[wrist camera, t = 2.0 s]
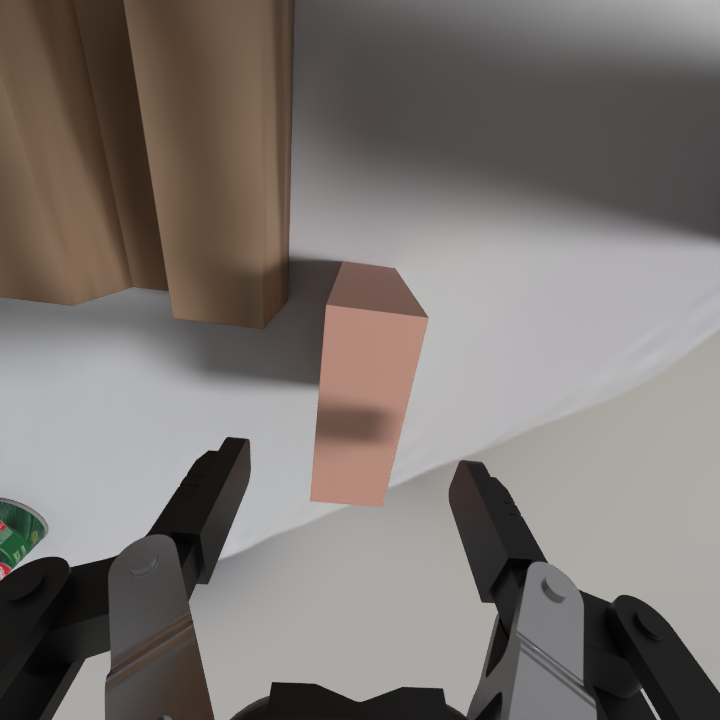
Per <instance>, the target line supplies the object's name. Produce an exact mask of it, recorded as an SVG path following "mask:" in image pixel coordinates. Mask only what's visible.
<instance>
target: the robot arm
mask: <svg viewBox="0 0 720 720" xmlns="http://www.w3.org/2000/svg"><path fill="white" fill-rule="evenodd" d="M250 472H251V462H250V441H249V439H244V438H233V437H227V438H226V439H225V440H224V442H223V444H222V446H221V447H220V449H219V451H210V450H209V451H207V452H206V453H205V454H204V455H202V456H201V457H200V458H199V459H197V460H196V461H195V463H194V464H193V466H192V467H191V469H190V470H189V472H188V473H187V476H185V478H184V479H183V481H182V482H181V484H180V487H178V489H177V490H176V492H175V493H174V495H173V496H172V498H171V499H170V501H169V502H168V504H167V505H166V507H165V508H164V510H163V511H162V513H161V515H160V516H159V518H158V519H157V521H156V522H155V524H154V525H153V527H152V528H151V530H150V531H149V532H148V534H147V535H146V536H145V537H144V538H141V539H139V540H137V541H135V542H133V543H132V544H130V545H129V546H128V547H126V548H125V549H124V550H123V551H122V552H121V553H120V554H119V555H117V556H114V557H111V558H108V559H104V560H100V561H96V562H91V563H87V564H83V565H79V566H74V567H70V566H69V564H68V563H67V561H66V560H64V559H63V558H60V557H45V558H40V559H37V560H34V561H32V562H29V563H27V564H25V565H23V566H21V567H19V568H17V569H16V570H14V571H12V572H11V573H10V574H8V575H7V576H5V577H4V578H3V579H2V580H0V720H52V718H53V716H54V714H55V712H56V711H57V709H58V707H59V705H60V704H61V702H62V700H63V698H64V696H65V695H66V693H67V691H68V689H69V688H70V686H71V684H72V682H73V680H74V679H75V677H76V675H77V673H78V672H79V670H80V668H81V666H82V664H83V662H84V661H85V659H86V658H89V657H91V656H95V655H97V654H101V653H104V652H107V651H110V650H111V669H110V673H109V674H108V675H107V677H106V683H105V720H214V715H213V710H212V706H211V701H210V697H209V692H208V688H207V683H206V679H205V674H204V670H203V666H202V661H201V657H200V652H199V647H198V643H197V638H196V634H195V630H194V625H193V620H192V616H191V612H190V607H189V599H190V597H191V595H192V592H193V590H194V588H195V585H196V584H208V583H209V580H210V578H211V576H212V573H213V570H214V568H215V566H216V563H217V561H218V558H219V556H220V553H221V551H222V548H223V546H224V543H225V541H226V538H227V536H228V533H229V531H230V528H231V526H232V523H233V521H234V518H235V516H236V513H237V511H238V508H239V506H240V503H241V501H242V498H243V496H244V493H245V491H246V488H247V486H248V483H249V478H250ZM449 502H450V506H451V509H452V512H453V515H454V518H455V522H456V525H457V528H458V531H459V534H460V537H461V540H462V543H463V546H464V549H465V552H466V555H467V558H468V562H469V565H470V567H471V571H472V574H473V576H474V580H475V583H476V586H477V589H478V592H479V595H480V598H481V601H482V602H485V603H495V605H496V607H497V610H498V614H497V616H496V619H495V622H494V626H493V630H492V634H491V638H490V642H489V646H488V650H487V654H486V658H485V662H484V667H483V670H482V674H481V678H480V681H479V684H478V687H477V690H476V692H475V694H474V696H473V699H472V701H471V704H470V707H469V710H468V713H467V716H466V717H465V716H464V715H463V714H462V713H461V712H459V711H457V710H456V709H454V708H453V707H451V706H449V705H447V704H446V702H445V697H444V692H443V689H441V688H413V687H401V688H399V689H396V690H393V691H390V692H388V693H385V694H382V695H380V696H377V697H374V698H372V699H369V700H366V701H363V702H357V701H354V700H351V699H349V698H347V697H345V696H342V695H340V694H337V693H335V692H333V691H331V690H328V689H326V688H324V687H322V686H319V685H317V684H305V683H280V682H279V683H278V682H272V685H271V691H270V696H268V697H265V698H262V699H259V700H257V701H255V702H253V703H252V704H250V705H248V706H247V707H245V708H244V709H243V710H241V711H240V712H238V713H237V714H236V715H235V716H233V717H232V718H231V719H230V720H657V719H656V718H655V716H654V714H653V712H652V710H651V709H650V707H649V705H648V703H647V701H646V700H645V698H644V696H643V694H642V693H641V691H640V690H641V689H642V688H643V689H644V691H645V692H646V694H647V696H648V698H649V699H650V701H651V703H652V705H653V706H654V708H655V710H656V712H657V713H658V715H659V717H660V718H661V720H720V693H719V692H718V690H717V689H716V687H715V686H714V685H713V683H712V682H711V680H710V679H709V678H708V677H707V675H706V674H705V672H704V671H703V669H702V668H701V667H700V665H699V664H698V663H697V661H696V660H695V658H694V657H693V656H692V654H691V653H690V652H689V650H688V649H687V647H686V646H685V645H684V644H683V642H682V641H681V639H680V638H679V637H678V635H677V634H676V632H675V631H674V630H673V628H672V627H671V626H670V624H669V623H668V622H667V621H666V620H665V619H664V618H663V617H662V616H661V615H660V614H659V613H658V612H657V611H656V610H654V609H653V608H652V607H651V606H649V605H648V604H646V603H645V602H643V601H641V600H639V599H637V598H635V597H632V596H629V595H621V596H619V597H617V598H616V599H615V600H614V601H613V602H612V603H610V602H608V601H605V600H603V599H600V598H598V597H595V596H592V595H590V594H588V593H585V592H583V591H581V590H578V589H577V587H576V586H575V584H574V583H573V582H572V581H571V580H570V578H569V577H568V576H567V575H566V574H564V573H563V572H562V571H560V570H559V569H558V568H556V567H555V566H553V565H551V564H549V563H548V562H547V560H546V559H545V557H544V555H543V553H542V551H541V550H540V548H539V546H538V544H537V542H536V540H535V539H534V537H533V535H532V533H531V531H530V530H529V528H528V526H527V524H526V522H525V521H524V519H523V517H521V513H520V512H519V510H518V508H517V506H516V505H515V503H514V501H513V499H512V497H511V495H510V493H509V492H508V490H507V489H506V488H505V487H504V486H503V485H502V484H501V483H500V481H498V479H497V478H495V477H490V475H489V473H488V471H487V469H486V467H485V465H484V464H483V463H482V462H476V461H466V460H461V461H460V462H459V464H458V467H457V469H456V472H455V475H454V477H453V480H452V482H451V485H450V488H449Z"/></svg>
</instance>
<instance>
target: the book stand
mask: <svg viewBox="0 0 720 720" xmlns="http://www.w3.org/2000/svg"><path fill="white" fill-rule="evenodd" d="M294 1H295V0H0V297H5V298H13V299H21V300H29V301H38V302H46V303H54V304H62V305H71V306H73V305H76V304H80V303H83V302H86V301H89V300H92V299H96V298H99V297H102V296H105V295H108V294H112V293H115V292H118V291H121V290H125V289H128V288H131V287H139V288H147V289H155V290H163V291H169V294H170V301H171V307H172V313H173V318H178V319H186V320H194V321H202V322H211V323H219V324H227V325H235V326H243V327H252V328H260V329H264V328H265V327H266V325H267V324H268V323H269V322H270V321H271V320H272V318H273V317H274V316H275V315H276V314H277V313H278V311H279V310H280V309H281V308H282V307H283V306H284V304H285V303H286V302H287V301H288V268H289V224H290V179H291V135H292V90H293V45H294Z"/></svg>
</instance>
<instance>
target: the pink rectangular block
mask: <svg viewBox="0 0 720 720" xmlns="http://www.w3.org/2000/svg"><path fill="white" fill-rule="evenodd" d="M428 319H429V318H428V316H427V315H426V313H425V312H424V310H423V309H422V307H421V306H420V304H419V303H418V301H417V300H416V298H415V297H414V295H413V294H412V292H411V291H410V290H409V288H408V287H407V285H406V284H405V282H404V281H403V279H402V278H401V276H400V275H399V273H398V272H397V270H396V269H394V268H387V267H380V266H372V265H365V264H358V263H350V262H342V265H341V267H340V270H339V272H338V275H337V278H336V280H335V283H334V285H333V288H332V291H331V293H330V296H329V299H328V301H327V304H326V313H325V325H324V337H323V349H322V361H321V374H320V386H319V398H318V410H317V423H316V435H315V447H314V459H313V472H312V484H311V496H310V501H316V502H327V503H339V504H350V505H361V506H373V507H383V503H384V499H385V495H386V491H387V487H388V483H389V479H390V475H391V470H392V466H393V462H394V458H395V454H396V450H397V446H398V442H399V438H400V434H401V429H402V425H403V421H404V417H405V413H406V409H407V405H408V401H409V397H410V393H411V388H412V384H413V380H414V376H415V372H416V368H417V364H418V360H419V356H420V352H421V347H422V343H423V339H424V335H425V331H426V327H427V323H428Z"/></svg>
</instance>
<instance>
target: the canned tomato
mask: <svg viewBox="0 0 720 720" xmlns="http://www.w3.org/2000/svg"><path fill="white" fill-rule="evenodd" d="M47 533H48V526H47V523H46V521H45V520H44V519H43V518H42V516H41V515H40V514H38V513H37V512H36V511H34V510H33V509H31V508H30V507H28V506H26V505H24V504H21V503H19V502H16V501H13V500H9V499H3V498H0V580H2V579H3V578H4V577H5V576H7V575H8V574H9V573H10V571H11V570H12V569H13V568H14V567H15V566H16V565H17V564H18V563H19V562H20V561H21V560H22V559H23V558H24V557H25V556H26V555H27V554H28V553H29V552H30V551H31V550H32V549H33V548H34V547H35V546H36V545H37V544H38V543H39V542H40V541H41V540H42V539H43V538H44V537H45V536H46V535H47Z"/></svg>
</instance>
